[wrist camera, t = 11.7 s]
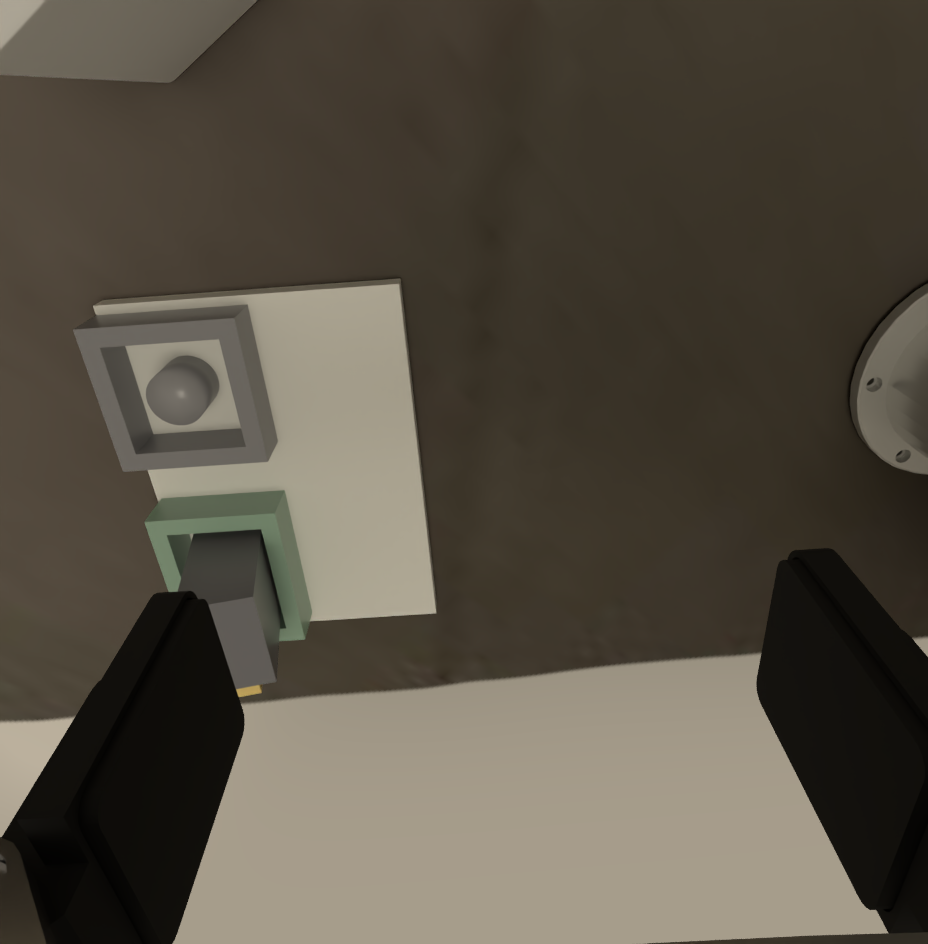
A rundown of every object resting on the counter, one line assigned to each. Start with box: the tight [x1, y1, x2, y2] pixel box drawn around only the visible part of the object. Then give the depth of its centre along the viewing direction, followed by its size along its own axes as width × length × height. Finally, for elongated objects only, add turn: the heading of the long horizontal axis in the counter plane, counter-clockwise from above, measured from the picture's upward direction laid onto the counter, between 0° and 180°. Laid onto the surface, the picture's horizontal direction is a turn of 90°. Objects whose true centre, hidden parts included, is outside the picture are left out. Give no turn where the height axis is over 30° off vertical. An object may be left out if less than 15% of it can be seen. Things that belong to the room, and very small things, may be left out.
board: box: [73, 278, 437, 621], centre depth 40 cm, size 16×22×4 cm
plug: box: [178, 529, 281, 697], centre depth 40 cm, size 4×7×8 cm, turn 4°
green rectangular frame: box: [145, 490, 312, 641], centre depth 42 cm, size 8×10×3 cm
